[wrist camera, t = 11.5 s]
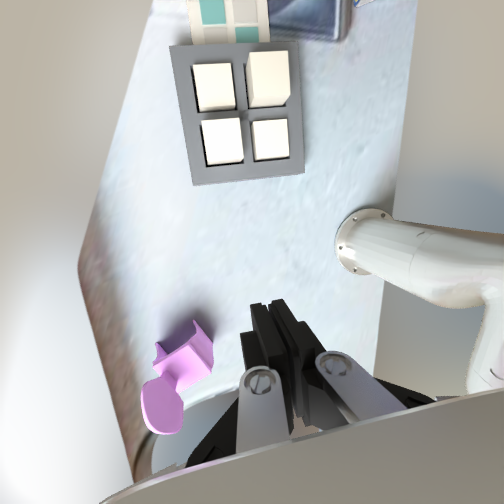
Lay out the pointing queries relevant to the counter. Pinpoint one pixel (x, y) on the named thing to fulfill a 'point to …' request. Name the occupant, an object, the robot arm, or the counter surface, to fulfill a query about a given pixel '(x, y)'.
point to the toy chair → (175, 382)
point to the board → (235, 86)
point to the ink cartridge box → (361, 2)
